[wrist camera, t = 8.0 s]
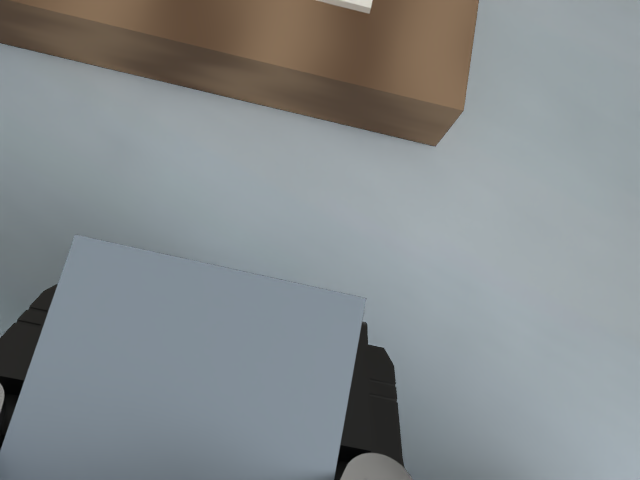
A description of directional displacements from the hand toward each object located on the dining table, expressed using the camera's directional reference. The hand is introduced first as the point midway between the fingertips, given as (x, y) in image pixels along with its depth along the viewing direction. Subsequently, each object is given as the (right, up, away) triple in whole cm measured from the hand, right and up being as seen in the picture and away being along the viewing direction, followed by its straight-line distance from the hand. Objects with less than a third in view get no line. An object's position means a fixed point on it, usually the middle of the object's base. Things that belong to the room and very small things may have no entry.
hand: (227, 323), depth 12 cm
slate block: (-1, -3, +6) cm, 6 cm away
